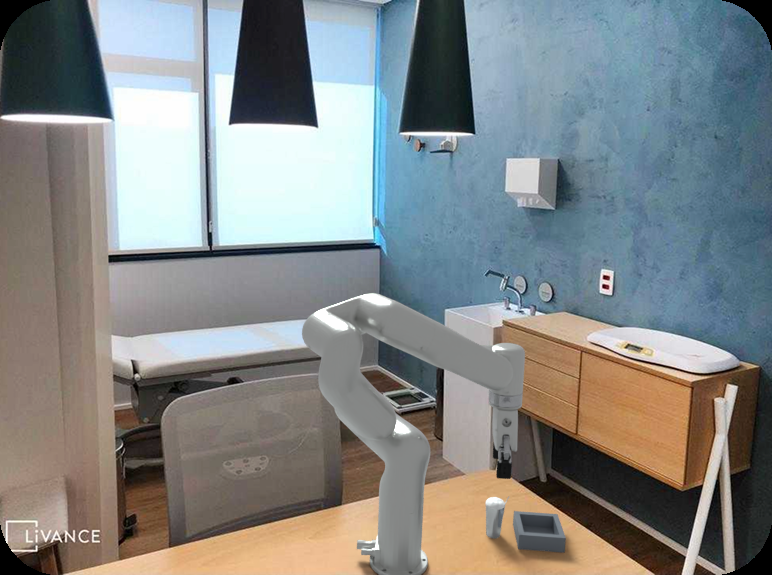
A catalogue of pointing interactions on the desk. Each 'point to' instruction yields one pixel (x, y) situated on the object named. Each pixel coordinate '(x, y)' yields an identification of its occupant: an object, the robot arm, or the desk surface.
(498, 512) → the milkshake
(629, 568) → the desk surface
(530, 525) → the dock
